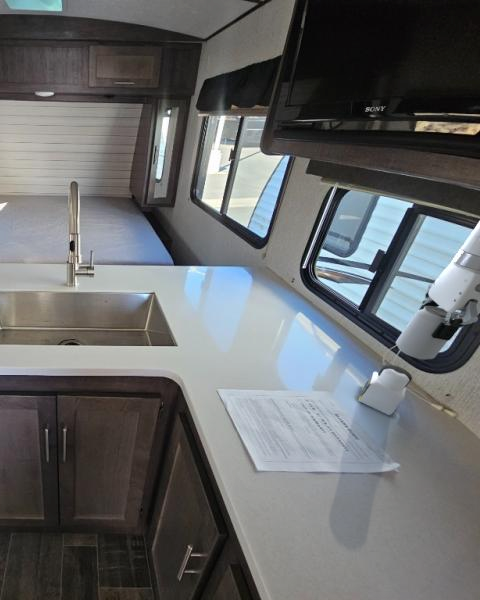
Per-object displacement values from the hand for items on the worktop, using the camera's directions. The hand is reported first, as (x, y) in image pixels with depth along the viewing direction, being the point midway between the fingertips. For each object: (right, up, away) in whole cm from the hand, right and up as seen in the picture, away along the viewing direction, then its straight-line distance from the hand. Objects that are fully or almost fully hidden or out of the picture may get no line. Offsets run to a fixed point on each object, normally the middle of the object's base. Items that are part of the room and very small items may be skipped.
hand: (430, 328), depth 77 cm
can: (0, -6, +4) cm, 7 cm away
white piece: (-1, -22, +13) cm, 26 cm away
